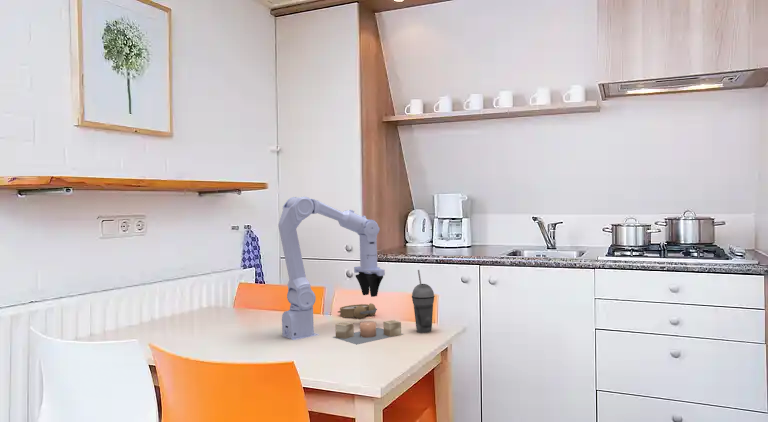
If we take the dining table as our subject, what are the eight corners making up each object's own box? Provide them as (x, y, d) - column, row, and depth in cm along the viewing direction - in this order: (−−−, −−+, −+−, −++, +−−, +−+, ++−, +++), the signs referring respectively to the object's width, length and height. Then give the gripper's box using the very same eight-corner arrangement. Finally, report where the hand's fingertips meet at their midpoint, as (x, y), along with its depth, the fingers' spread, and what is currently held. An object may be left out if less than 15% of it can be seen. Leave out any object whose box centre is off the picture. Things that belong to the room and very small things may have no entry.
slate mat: (356, 346, 172) (356, 344, 172) (332, 339, 183) (332, 337, 183) (404, 336, 184) (404, 334, 184) (378, 329, 194) (378, 327, 194)
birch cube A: (345, 338, 180) (345, 325, 180) (335, 337, 182) (335, 324, 182) (354, 336, 183) (353, 323, 183) (344, 334, 185) (343, 321, 185)
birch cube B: (389, 336, 181) (389, 323, 180) (383, 334, 184) (383, 321, 184) (401, 335, 182) (400, 322, 182) (394, 332, 186) (394, 319, 186)
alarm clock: (354, 304, 227) (382, 300, 217) (356, 317, 227) (384, 314, 217) (332, 308, 219) (361, 305, 209) (334, 322, 218) (363, 319, 208)
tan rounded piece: (366, 338, 180) (366, 325, 179) (356, 335, 184) (356, 322, 183) (379, 335, 183) (379, 322, 183) (369, 332, 187) (369, 320, 186)
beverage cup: (434, 336, 182) (432, 271, 182) (410, 335, 184) (408, 271, 183) (437, 330, 190) (435, 268, 189) (414, 330, 191) (412, 268, 191)
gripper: (391, 255, 195) (392, 296, 195) (365, 253, 206) (366, 291, 207) (374, 257, 191) (375, 299, 191) (348, 254, 202) (349, 294, 202)
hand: (369, 295), depth 198 cm, fingers open, 4 cm apart
